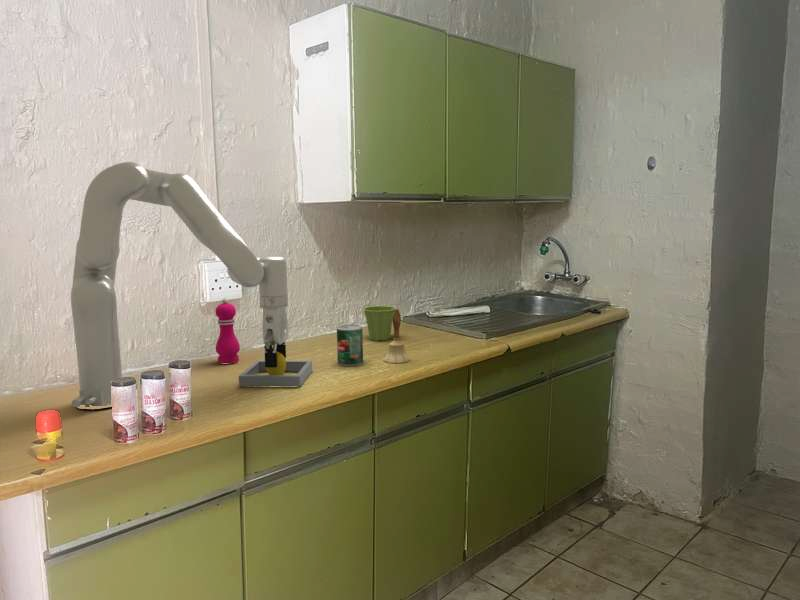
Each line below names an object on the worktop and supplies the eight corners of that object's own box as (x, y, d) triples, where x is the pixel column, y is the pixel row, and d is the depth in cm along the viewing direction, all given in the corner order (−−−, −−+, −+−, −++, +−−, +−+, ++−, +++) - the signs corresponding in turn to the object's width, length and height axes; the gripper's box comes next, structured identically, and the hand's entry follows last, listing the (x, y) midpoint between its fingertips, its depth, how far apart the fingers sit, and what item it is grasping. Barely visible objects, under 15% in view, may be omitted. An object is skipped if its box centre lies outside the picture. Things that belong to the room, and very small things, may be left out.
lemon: (277, 375, 175) (276, 347, 174) (290, 378, 171) (289, 350, 170) (262, 379, 171) (260, 351, 169) (275, 382, 167) (274, 354, 166)
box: (300, 387, 163) (299, 376, 162) (239, 387, 164) (238, 376, 163) (312, 370, 179) (312, 360, 178) (256, 370, 180) (256, 360, 179)
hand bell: (389, 356, 195) (389, 306, 193) (414, 358, 192) (413, 308, 190) (378, 362, 188) (378, 310, 185) (404, 364, 185) (403, 312, 182)
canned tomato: (368, 361, 189) (367, 326, 188) (353, 367, 183) (352, 330, 181) (347, 358, 193) (346, 323, 192) (332, 363, 187) (331, 328, 185)
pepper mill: (216, 365, 186) (212, 300, 183) (216, 360, 193) (212, 297, 190) (240, 363, 188) (237, 299, 185) (240, 358, 195) (237, 295, 192)
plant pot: (399, 336, 224) (399, 305, 223) (391, 343, 213) (390, 311, 211) (368, 335, 227) (368, 305, 226) (358, 341, 216) (358, 310, 214)
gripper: (279, 306, 159) (281, 371, 162) (294, 297, 176) (296, 355, 179) (250, 306, 160) (253, 370, 162) (268, 297, 177) (270, 355, 179)
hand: (275, 362), depth 170 cm, fingers open, 9 cm apart
